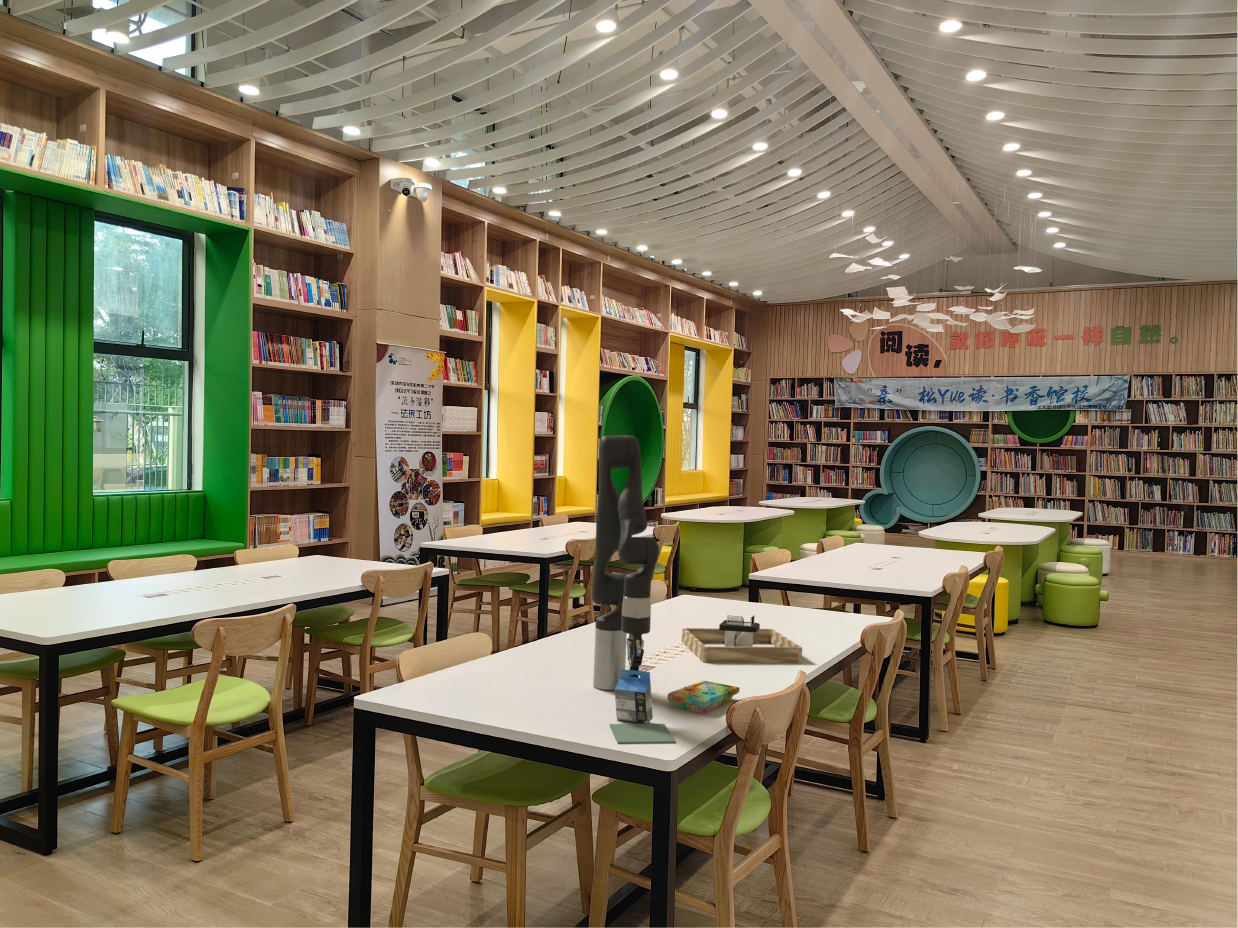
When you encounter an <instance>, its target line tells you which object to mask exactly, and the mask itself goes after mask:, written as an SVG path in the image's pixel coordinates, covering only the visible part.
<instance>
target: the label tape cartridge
mask: <svg viewBox="0 0 1238 928" xmlns="http://www.w3.org/2000/svg"><path fill="white" fill-rule="evenodd" d="M634 674H636V675H638V676H639V678H636V677H631V676H630V675H634ZM651 685H652V683H651V672H650V671H643V670H639V671H634V670H630V669H626V668H625V669H620V680H619V682H618V684H617V686H616V688H615V690H614V698H615V700H614V701H615V711H616V713H615V714H616V720H617V721H624V722H632V723H638V724H650V722H651V721H652V720H653V718H654V717H653V701H652V686H651Z"/></svg>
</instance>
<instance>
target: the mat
mask: <svg viewBox="0 0 1238 928" xmlns="http://www.w3.org/2000/svg"><path fill="white" fill-rule="evenodd" d="M609 727H610V729H611V732H612V735H613V737H614V738H615V740H616V742H617V744H620V745H621V744H676V743H677V740H676V739H675V738H674V736H673V735H672V733H671V732H670V730H669V729H668V726H667V725H666V724H665V723H647V724H646V723H609Z"/></svg>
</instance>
